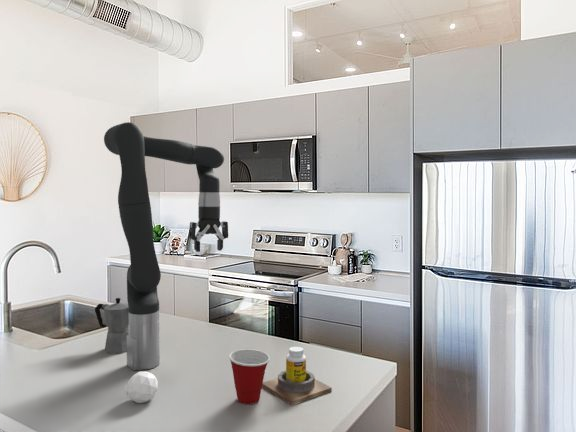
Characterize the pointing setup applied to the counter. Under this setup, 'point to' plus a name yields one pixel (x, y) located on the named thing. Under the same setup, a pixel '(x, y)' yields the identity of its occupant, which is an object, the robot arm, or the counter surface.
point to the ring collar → (296, 388)
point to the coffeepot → (115, 325)
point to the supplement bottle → (296, 365)
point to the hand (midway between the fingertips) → (208, 251)
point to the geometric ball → (142, 387)
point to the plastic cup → (248, 373)
